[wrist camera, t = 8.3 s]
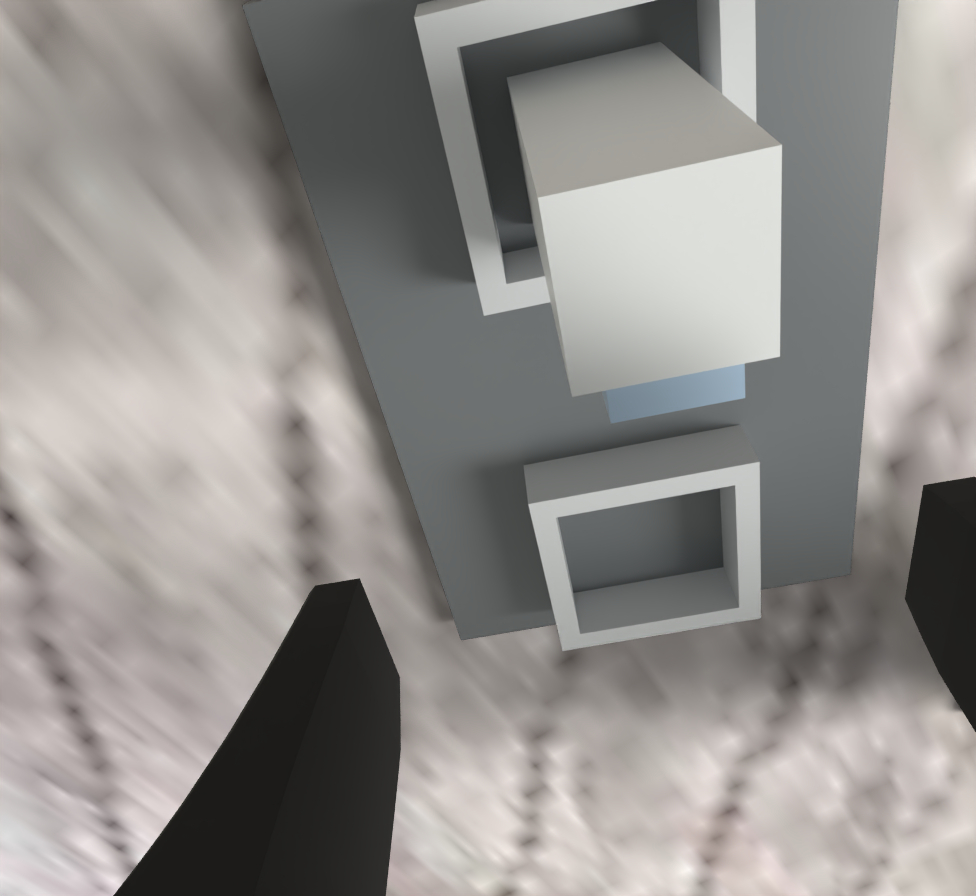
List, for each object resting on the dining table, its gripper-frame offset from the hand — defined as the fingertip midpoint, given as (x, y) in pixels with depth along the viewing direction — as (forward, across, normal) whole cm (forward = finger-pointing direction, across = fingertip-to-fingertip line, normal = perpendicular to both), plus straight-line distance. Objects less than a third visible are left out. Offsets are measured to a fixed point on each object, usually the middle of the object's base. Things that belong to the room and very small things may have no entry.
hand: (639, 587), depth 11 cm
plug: (+10, -1, -3) cm, 10 cm away
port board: (+10, -1, +2) cm, 11 cm away
